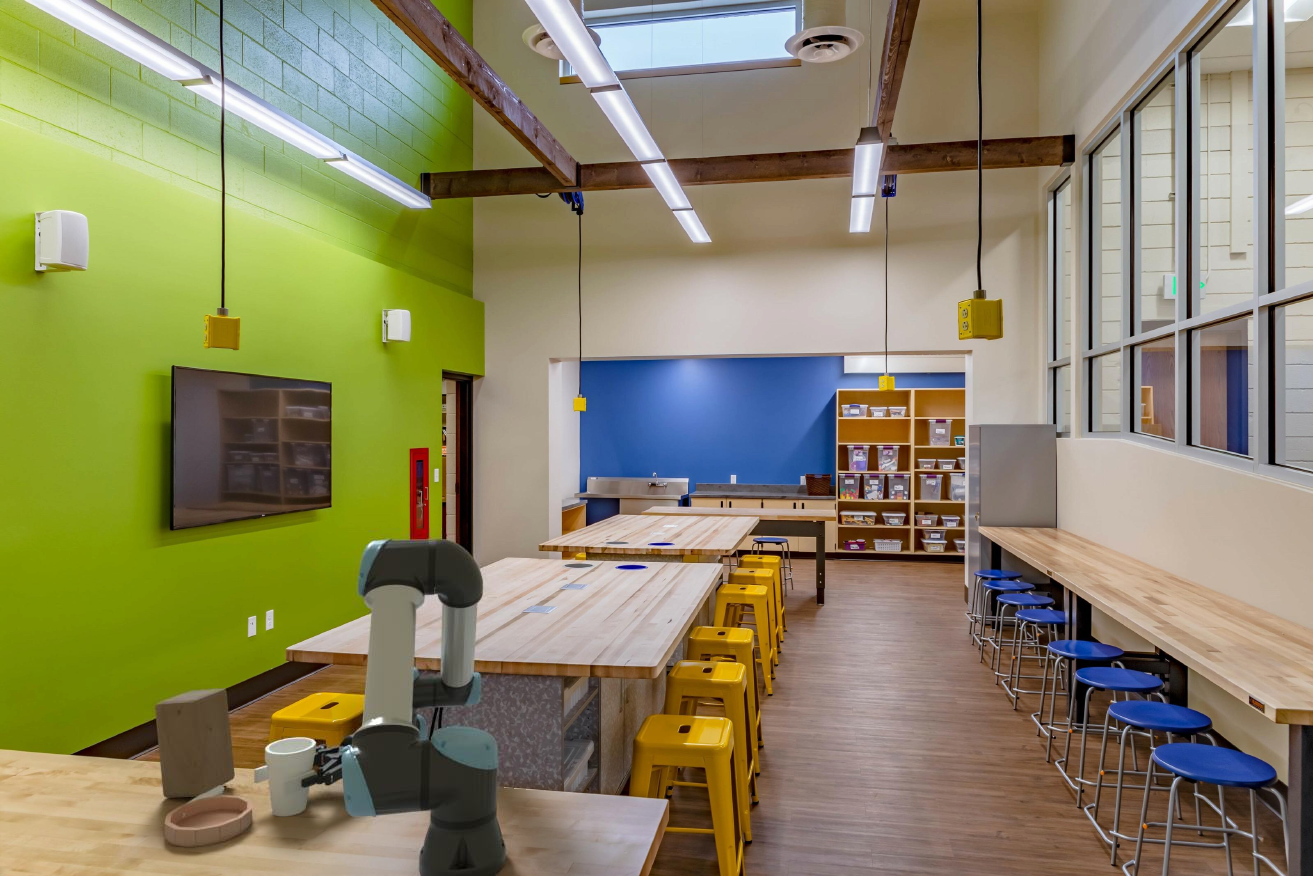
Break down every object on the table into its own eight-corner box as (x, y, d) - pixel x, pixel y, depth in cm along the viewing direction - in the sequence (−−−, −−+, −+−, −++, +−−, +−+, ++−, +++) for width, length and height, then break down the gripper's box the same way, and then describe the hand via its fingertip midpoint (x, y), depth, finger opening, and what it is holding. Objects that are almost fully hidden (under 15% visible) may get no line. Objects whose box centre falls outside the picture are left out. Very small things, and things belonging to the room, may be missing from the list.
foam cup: (253, 813, 160) (255, 748, 161) (293, 795, 169) (294, 734, 169) (284, 824, 156) (286, 757, 156) (324, 805, 164) (325, 742, 164)
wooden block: (201, 798, 164) (192, 700, 165) (161, 799, 166) (152, 703, 167) (237, 778, 173) (228, 687, 174) (199, 780, 176) (190, 689, 176)
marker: (227, 793, 172) (180, 823, 156) (219, 789, 172) (170, 819, 156) (232, 781, 172) (185, 811, 156) (224, 778, 172) (176, 806, 156)
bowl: (267, 824, 156) (267, 807, 156) (189, 855, 144) (190, 837, 144) (226, 805, 164) (226, 789, 164) (149, 833, 152) (150, 816, 152)
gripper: (397, 776, 172) (302, 815, 153) (333, 754, 184) (238, 787, 165) (397, 741, 172) (303, 776, 153) (334, 721, 184) (239, 751, 165)
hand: (269, 782), depth 159 cm, fingers closed on foam cup, 9 cm apart
